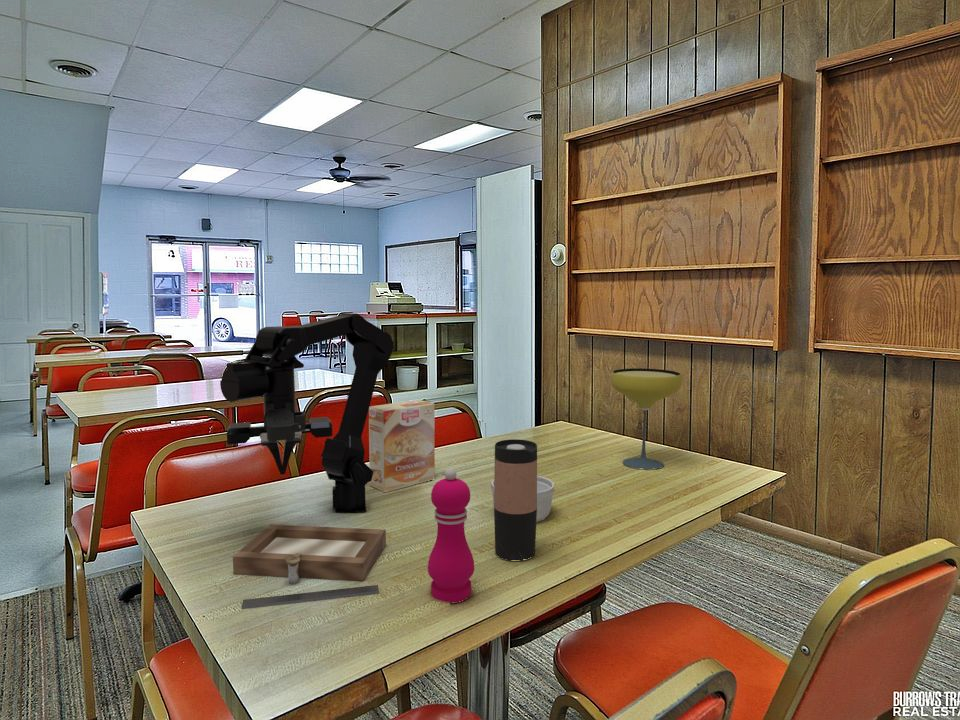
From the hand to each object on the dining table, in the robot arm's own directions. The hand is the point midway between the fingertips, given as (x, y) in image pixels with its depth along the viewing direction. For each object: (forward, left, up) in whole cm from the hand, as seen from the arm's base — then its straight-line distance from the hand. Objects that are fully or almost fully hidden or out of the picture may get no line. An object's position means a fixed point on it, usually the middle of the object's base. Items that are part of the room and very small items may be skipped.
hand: (282, 474), depth 118 cm
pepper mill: (-27, +31, -12) cm, 43 cm away
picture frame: (-5, +15, -12) cm, 20 cm away
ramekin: (-48, +1, -12) cm, 49 cm away
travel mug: (-41, +19, -12) cm, 47 cm away
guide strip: (-6, +28, -12) cm, 31 cm away
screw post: (-3, +22, -12) cm, 25 cm away
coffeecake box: (-26, -26, -12) cm, 39 cm away
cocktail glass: (-91, -27, -12) cm, 96 cm away
